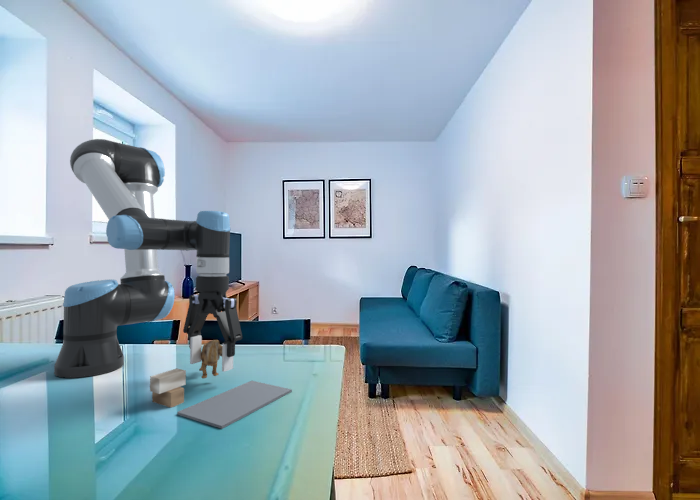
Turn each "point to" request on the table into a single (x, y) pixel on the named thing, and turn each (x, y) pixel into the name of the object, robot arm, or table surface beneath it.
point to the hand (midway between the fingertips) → (211, 366)
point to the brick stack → (168, 387)
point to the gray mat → (234, 404)
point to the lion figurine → (210, 356)
